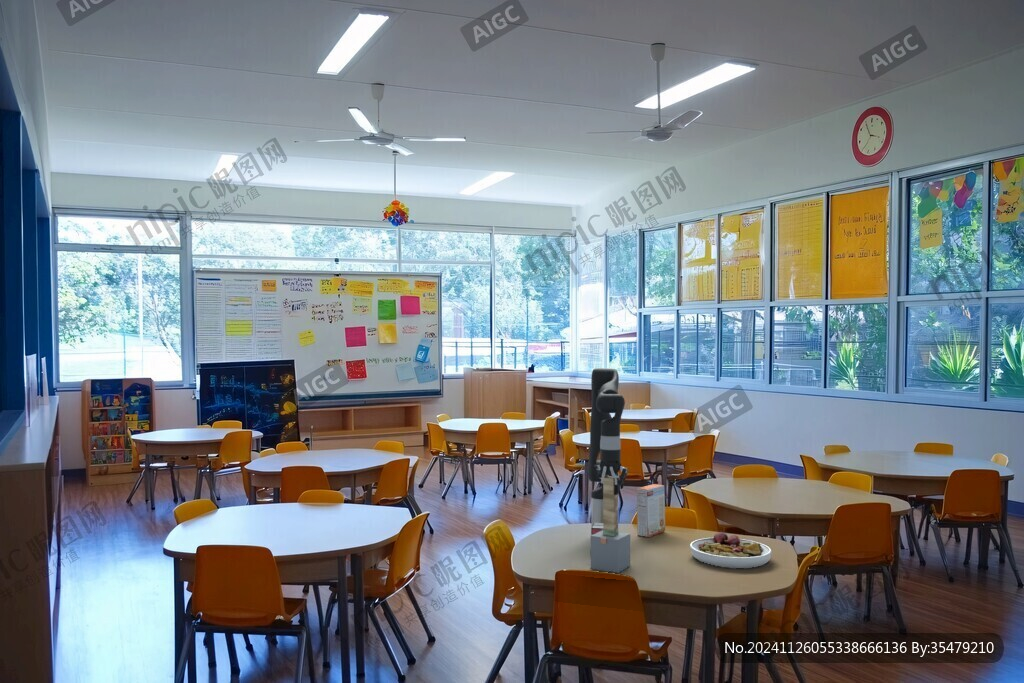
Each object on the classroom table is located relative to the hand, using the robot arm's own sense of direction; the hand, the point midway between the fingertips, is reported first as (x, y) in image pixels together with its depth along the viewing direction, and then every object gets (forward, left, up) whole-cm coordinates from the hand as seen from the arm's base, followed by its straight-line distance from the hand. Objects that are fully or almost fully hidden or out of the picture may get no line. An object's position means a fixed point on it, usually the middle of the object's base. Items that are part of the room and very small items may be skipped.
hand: (610, 493), depth 278 cm
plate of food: (-35, +34, -28) cm, 56 cm away
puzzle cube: (-20, -12, -27) cm, 36 cm away
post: (0, 0, -18) cm, 18 cm away
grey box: (0, 0, -27) cm, 27 cm away
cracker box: (-56, -7, -27) cm, 63 cm away
